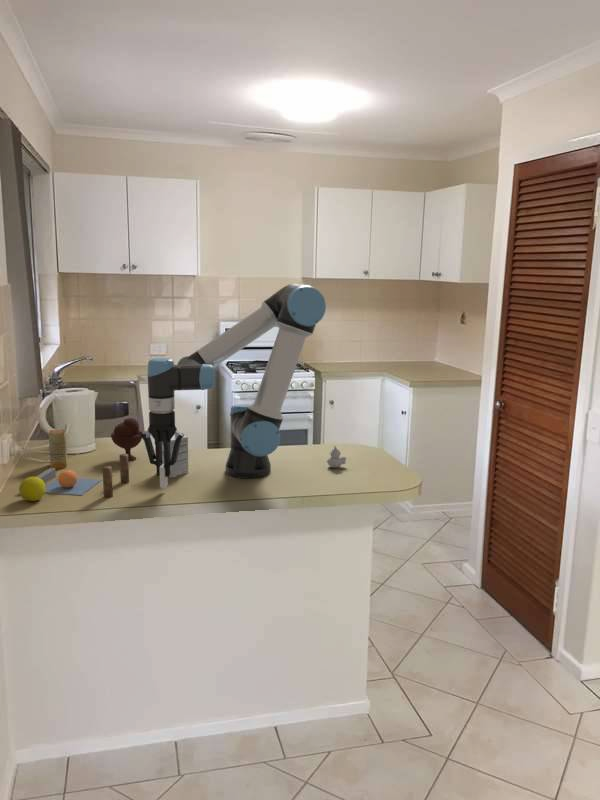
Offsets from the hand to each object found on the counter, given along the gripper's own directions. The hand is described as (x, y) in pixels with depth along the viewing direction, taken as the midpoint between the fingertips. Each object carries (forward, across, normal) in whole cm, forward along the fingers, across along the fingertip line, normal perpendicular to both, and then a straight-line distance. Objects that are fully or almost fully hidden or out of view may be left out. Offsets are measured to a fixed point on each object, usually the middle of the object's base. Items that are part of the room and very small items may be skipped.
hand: (163, 486), depth 198 cm
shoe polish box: (+2, -43, +18) cm, 47 cm away
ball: (-1, -30, -1) cm, 30 cm away
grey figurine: (+2, +50, +34) cm, 61 cm away
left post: (+2, -15, -6) cm, 16 cm away
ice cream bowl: (+2, -23, +29) cm, 37 cm away
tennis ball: (+2, -35, -13) cm, 37 cm away
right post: (+2, -15, +6) cm, 16 cm away
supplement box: (+2, -3, +18) cm, 18 cm away
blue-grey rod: (+2, -40, 0) cm, 40 cm away
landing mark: (+2, -30, 0) cm, 30 cm away
